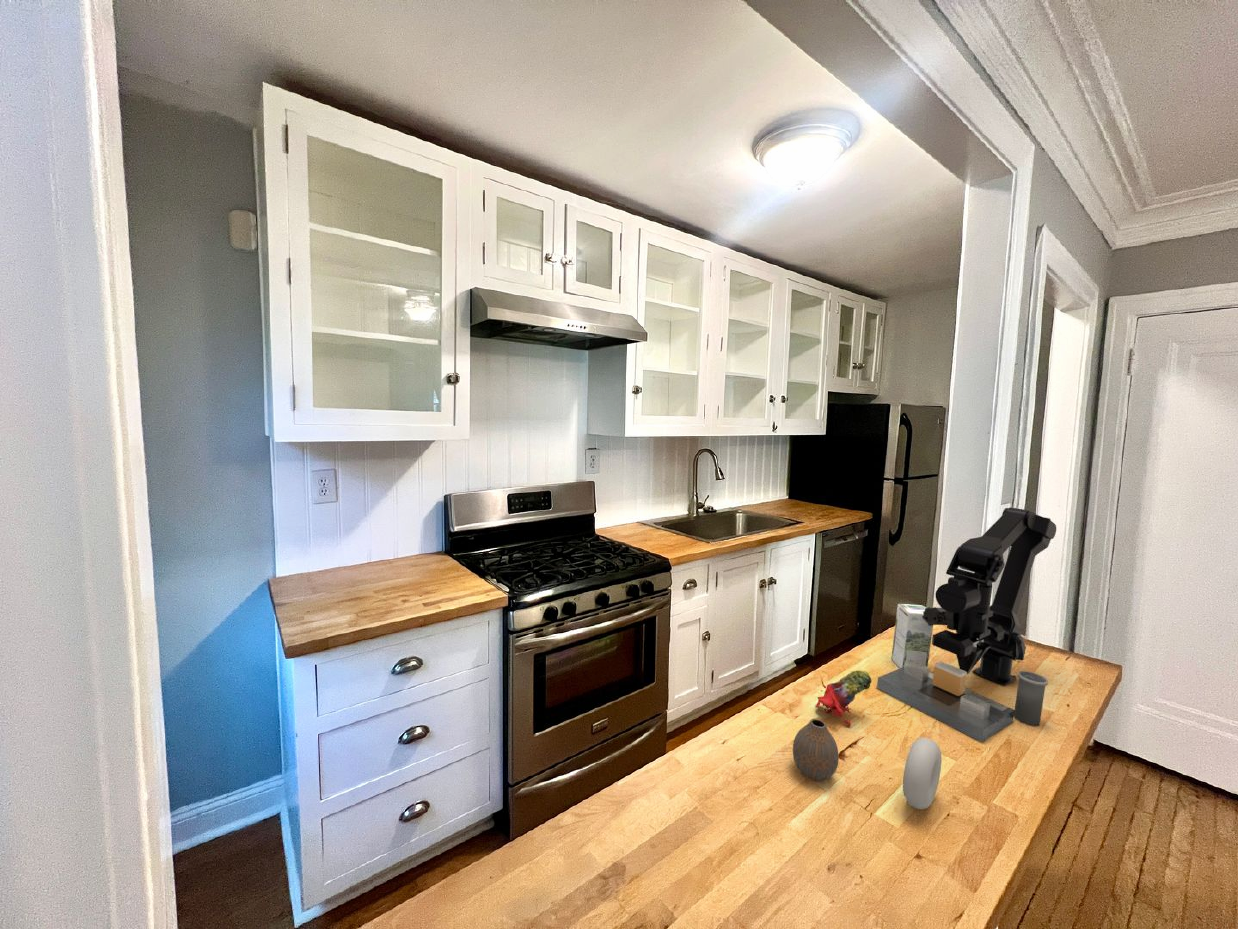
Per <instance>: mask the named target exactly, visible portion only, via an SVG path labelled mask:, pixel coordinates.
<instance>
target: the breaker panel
mask: <svg viewBox="0 0 1238 929" xmlns="http://www.w3.org/2000/svg"><path fill="white" fill-rule="evenodd" d="M933 675H934V673H933V672H930V667H929V666H928V667H926V666H924V665H922V664H920V663H917V662H915V661H913V660H908V661H906V662H905V664H904V667H902V668H899V667H898V669H895V670H892V671H890V672H887V673H886V674H883V675H881V676H878V677H877V683H876V689H877V690H879V691H881V692H883V693H884V694H886V695H888V696H890V697H893V698H895V699H897V700H898V701H900V702H903V703H904V704H905V705H906V704H907V705H908V706H910V707H912V708H914V709H916V710H918V711H919V712H922V713H924V714H925V715H928V716H930V717H931V718H933V719H935V720H937V721H939V722H941V723H942V724H945V725H947V726H949V727H951V728H953V729H954V730H957V731H959V732H961V733H962V734H965V735H966V736H968V737H970V738H973V739H974V740H976V741H978V742H979V743H983V742H986V741H987V740H988V739H990V738H991V737H994V736H995V735H996V734H997V733H999V732H1000V731H1002V730H1003V729H1004V728H1006V727H1008V726H1009V725H1010V724H1012V723H1014V718H1015V717H1014V711H1015V709H1013V708H1011V707H1009V706H1006V705H1004V704H1002V703H1000V702H997V701H995V700H993V699H990V698H988V697H986V696H983V695H981V694H979V693H977V692H975V691H973V690H970V689H969V688H966V687H965V691H964V694H962V695H960V696H957V695H954V694H952V693H950V692H948V691H946V690H944V689H941V688H939V687H937V686H935V685H933V684H932V683H933Z"/></svg>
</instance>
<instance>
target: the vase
mask: <svg viewBox="0 0 1238 929" xmlns="http://www.w3.org/2000/svg"><path fill="white" fill-rule="evenodd" d="M839 755H840V754H839V750H838V744H837V741H836V740H835V738H834V736H833V735H832V733H831V732H830V730H829V729H828V726H827V724H826V722H825V721H824V720H822V719H820V718H811V719H810V720H809V721H808V723H807V724H806V725H804V726H803V727H801V728H800V729H799V730H798V731H797V733H796V734H795V736H794V740H793V743H792V756H793V761H794V764H795V766H796V768H797V770H798V771H799V772H800V773H801V774H802V775H803V777H805V778H806V779H808V780H810V781H813V782H815V783H821V782H825V781H828V780H829V779H831V778H832V777H833V776H834V774H836V771H837V768H838V765H839V757H840V756H839Z"/></svg>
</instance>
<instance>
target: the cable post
mask: <svg viewBox="0 0 1238 929" xmlns="http://www.w3.org/2000/svg"><path fill="white" fill-rule="evenodd" d="M1016 675H1017V676H1016V677H1017V678H1018V682H1017V689H1016V690H1017V691H1016V698H1015V704H1014V710H1015V711H1014V718H1015V719H1016V720H1017V721H1018V722H1020V723H1022V724H1025V725H1027V726H1031V727H1039V726H1040V724H1041V717H1042V710H1043V704H1044V698H1045V697H1044V696H1045V690H1046V686H1048V683H1049V680H1048V679H1047V678H1046V677H1045V676H1042V675H1041V674H1038V673H1036V672H1032V671H1027V670H1019V671H1017V674H1016Z"/></svg>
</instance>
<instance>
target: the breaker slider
mask: <svg viewBox="0 0 1238 929" xmlns="http://www.w3.org/2000/svg"><path fill="white" fill-rule="evenodd" d="M933 674H934V675H933V683H932V684H933V685H935V686H937V687H939V688H941V689H944V690H946V691H948V692H950V693H952V694H954V695H957V696H960V695H962V694H964V691H965V688H966V682H967V675H968V674H967V672H966V671H964V670H961V669H960V668H959V667H956V666H954V665H952V664H949V663H946V662H944V661H942V660H940V661H938V662H936V663H934V667H933Z"/></svg>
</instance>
